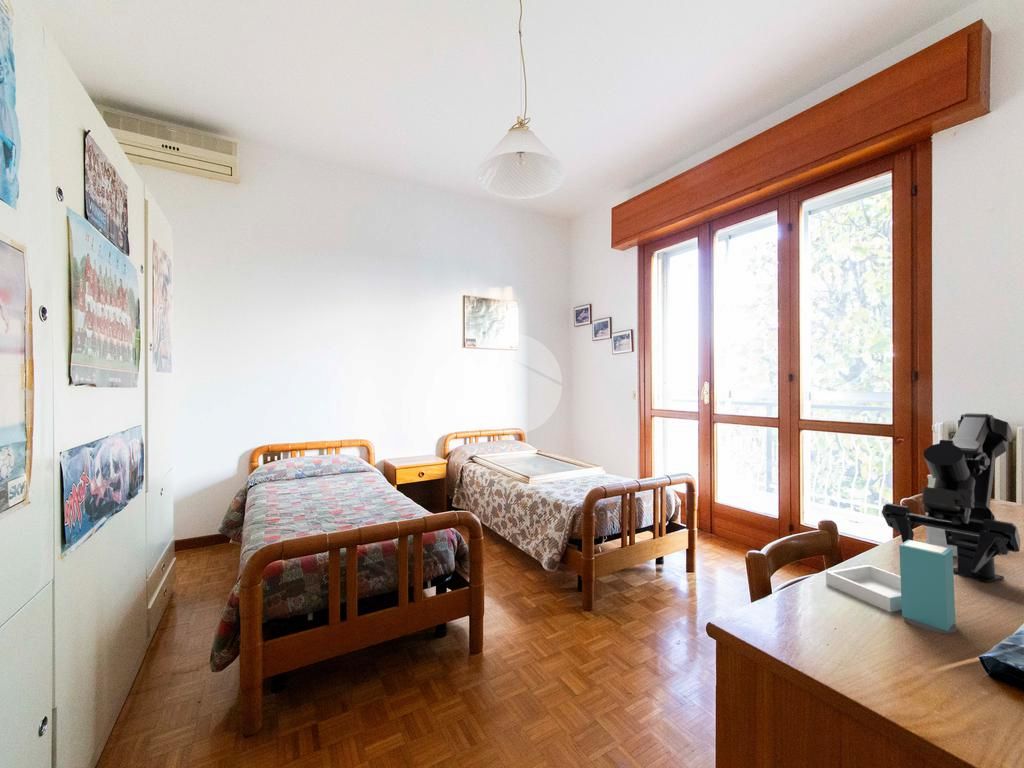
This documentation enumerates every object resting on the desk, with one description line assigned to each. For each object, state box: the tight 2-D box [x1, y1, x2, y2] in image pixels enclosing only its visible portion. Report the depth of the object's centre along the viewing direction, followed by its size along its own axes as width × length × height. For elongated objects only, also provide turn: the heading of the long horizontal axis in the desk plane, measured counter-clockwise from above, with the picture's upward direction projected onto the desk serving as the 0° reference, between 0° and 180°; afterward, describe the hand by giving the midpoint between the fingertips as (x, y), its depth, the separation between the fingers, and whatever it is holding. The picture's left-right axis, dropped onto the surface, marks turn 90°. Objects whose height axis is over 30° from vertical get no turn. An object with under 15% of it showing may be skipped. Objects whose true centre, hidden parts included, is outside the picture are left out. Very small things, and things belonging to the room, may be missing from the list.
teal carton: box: [898, 539, 956, 631], centre depth 78 cm, size 5×6×13 cm
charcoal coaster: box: [902, 616, 957, 635], centre depth 78 cm, size 7×7×1 cm
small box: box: [925, 512, 957, 558], centre depth 112 cm, size 8×6×13 cm
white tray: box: [825, 564, 902, 613], centre depth 89 cm, size 13×13×3 cm
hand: (938, 563), depth 82 cm, fingers open, 9 cm apart
